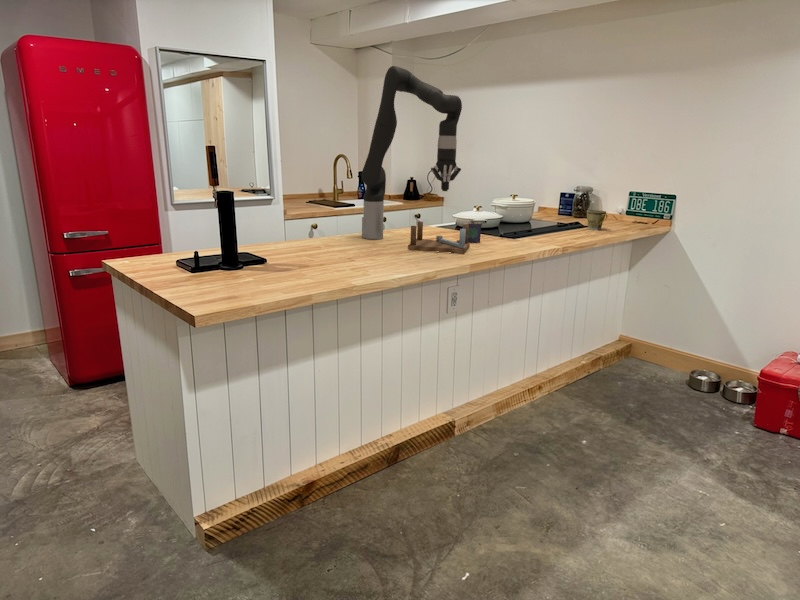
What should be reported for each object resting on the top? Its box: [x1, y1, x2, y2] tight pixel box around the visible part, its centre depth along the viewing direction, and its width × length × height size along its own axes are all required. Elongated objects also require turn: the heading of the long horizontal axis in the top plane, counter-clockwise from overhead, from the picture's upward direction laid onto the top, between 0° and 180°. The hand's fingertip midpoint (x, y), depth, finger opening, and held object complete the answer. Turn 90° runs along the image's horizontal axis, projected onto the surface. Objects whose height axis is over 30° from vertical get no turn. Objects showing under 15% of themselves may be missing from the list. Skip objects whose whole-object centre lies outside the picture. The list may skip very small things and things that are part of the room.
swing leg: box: [435, 228, 466, 248], centre depth 239 cm, size 18×3×8 cm, turn 32°
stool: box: [407, 220, 471, 255], centre depth 241 cm, size 24×16×10 cm, turn 75°
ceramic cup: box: [586, 209, 608, 231], centre depth 300 cm, size 13×10×10 cm
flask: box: [461, 218, 483, 244], centre depth 256 cm, size 9×3×11 cm, turn 109°
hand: (444, 191), depth 231 cm, fingers closed
